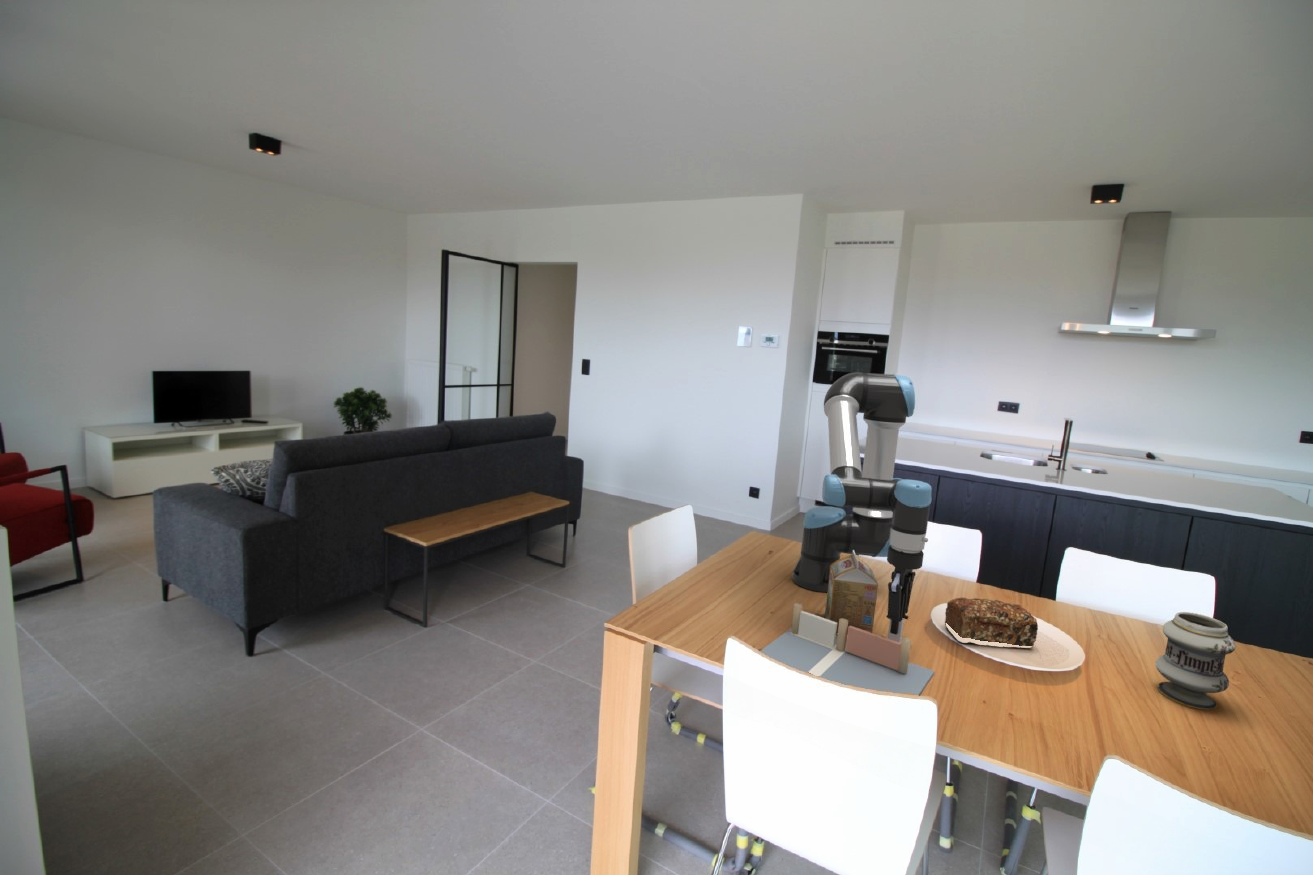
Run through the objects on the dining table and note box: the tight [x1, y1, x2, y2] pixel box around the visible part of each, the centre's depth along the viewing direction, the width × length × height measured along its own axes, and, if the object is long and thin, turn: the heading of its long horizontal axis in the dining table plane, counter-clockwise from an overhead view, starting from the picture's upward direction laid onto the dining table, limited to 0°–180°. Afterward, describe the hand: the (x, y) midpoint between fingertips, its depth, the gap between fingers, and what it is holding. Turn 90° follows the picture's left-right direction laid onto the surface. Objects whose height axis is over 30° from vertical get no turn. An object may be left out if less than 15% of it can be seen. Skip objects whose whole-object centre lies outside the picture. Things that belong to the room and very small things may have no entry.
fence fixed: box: [790, 602, 848, 651], centre depth 145 cm, size 2×14×7 cm, turn 52°
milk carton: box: [824, 550, 879, 634], centre depth 155 cm, size 11×11×19 cm
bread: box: [944, 597, 1039, 647], centre depth 153 cm, size 19×11×10 cm, turn 86°
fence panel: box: [845, 626, 912, 673], centre depth 136 cm, size 14×2×7 cm, turn 51°
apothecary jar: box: [1155, 611, 1236, 711], centre depth 130 cm, size 12×12×18 cm
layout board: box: [760, 627, 935, 696], centre depth 136 cm, size 22×33×1 cm, turn 51°
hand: (893, 644), depth 140 cm, fingers closed
